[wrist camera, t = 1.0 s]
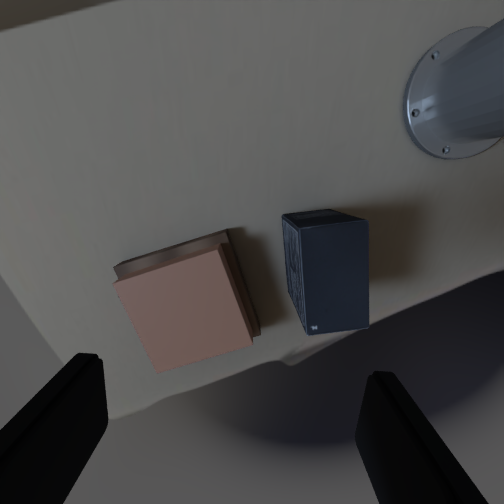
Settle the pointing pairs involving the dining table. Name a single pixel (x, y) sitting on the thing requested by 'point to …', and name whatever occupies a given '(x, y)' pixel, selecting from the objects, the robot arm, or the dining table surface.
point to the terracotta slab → (186, 309)
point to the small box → (328, 269)
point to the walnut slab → (192, 246)
